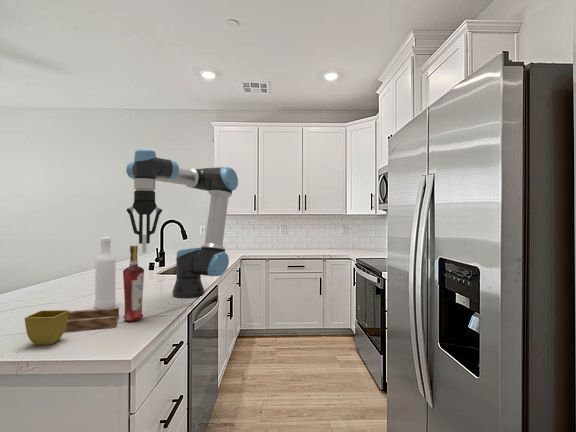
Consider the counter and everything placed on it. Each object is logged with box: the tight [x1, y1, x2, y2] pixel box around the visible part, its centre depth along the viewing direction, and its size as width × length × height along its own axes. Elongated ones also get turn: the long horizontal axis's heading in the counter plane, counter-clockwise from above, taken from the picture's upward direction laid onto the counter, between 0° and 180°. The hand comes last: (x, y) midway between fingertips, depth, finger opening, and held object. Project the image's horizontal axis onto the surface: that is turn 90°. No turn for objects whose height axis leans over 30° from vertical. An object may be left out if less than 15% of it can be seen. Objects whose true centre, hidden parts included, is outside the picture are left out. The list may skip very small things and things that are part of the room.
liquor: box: [122, 245, 145, 323], centre depth 137 cm, size 7×7×28 cm
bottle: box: [94, 236, 117, 309], centre depth 156 cm, size 8×8×30 cm
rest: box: [64, 307, 120, 333], centre depth 131 cm, size 25×15×3 cm, turn 111°
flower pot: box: [24, 309, 70, 346], centre depth 113 cm, size 9×9×9 cm
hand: (144, 252), depth 139 cm, fingers closed
